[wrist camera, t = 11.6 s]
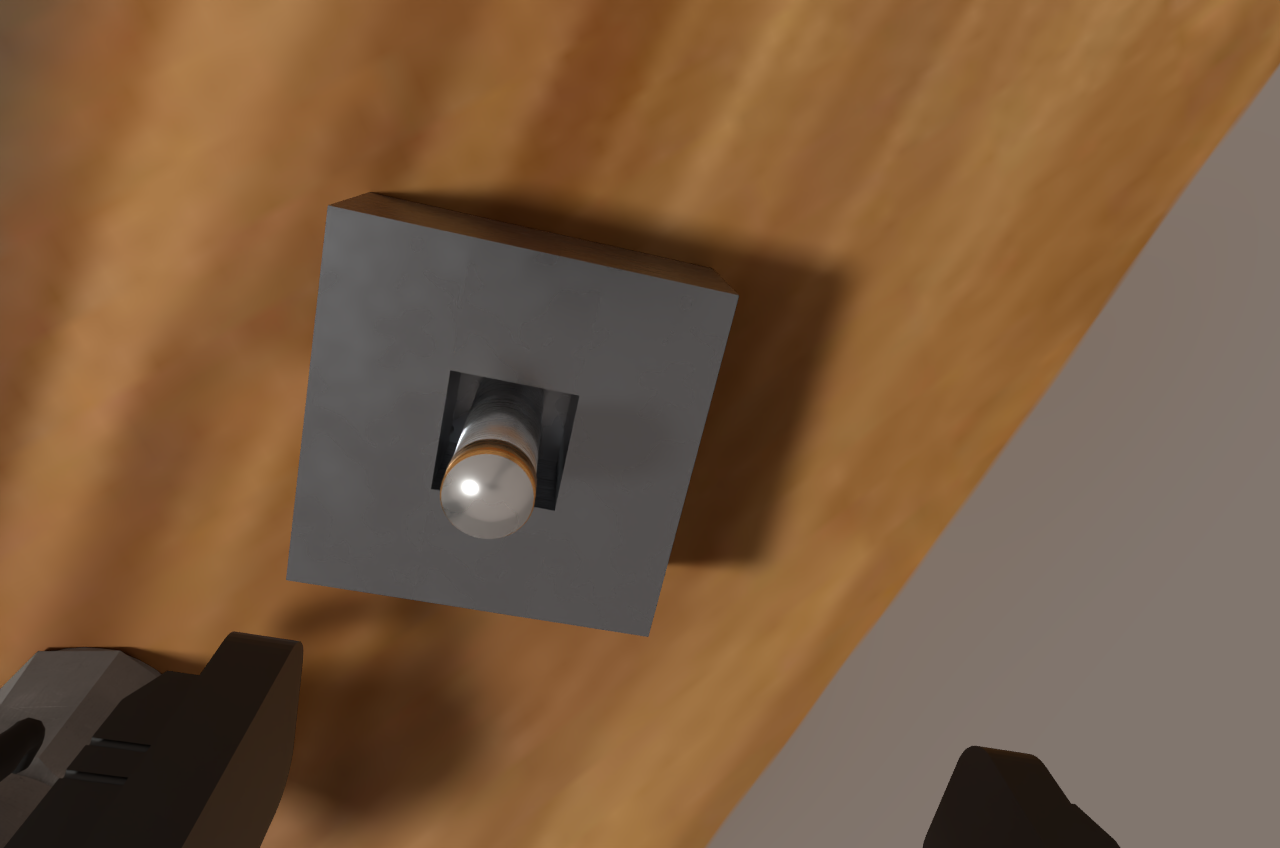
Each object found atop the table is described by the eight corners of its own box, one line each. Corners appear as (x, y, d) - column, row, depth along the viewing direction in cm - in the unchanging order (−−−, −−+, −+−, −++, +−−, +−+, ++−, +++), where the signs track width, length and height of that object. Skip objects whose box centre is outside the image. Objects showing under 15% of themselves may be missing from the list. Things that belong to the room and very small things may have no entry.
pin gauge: (551, 373, 35) (543, 463, 26) (537, 438, 36) (525, 547, 27) (481, 359, 35) (447, 445, 26) (469, 425, 36) (432, 532, 26)
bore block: (712, 268, 35) (739, 295, 30) (637, 564, 40) (648, 636, 34) (369, 192, 33) (327, 205, 28) (329, 512, 38) (286, 579, 32)
